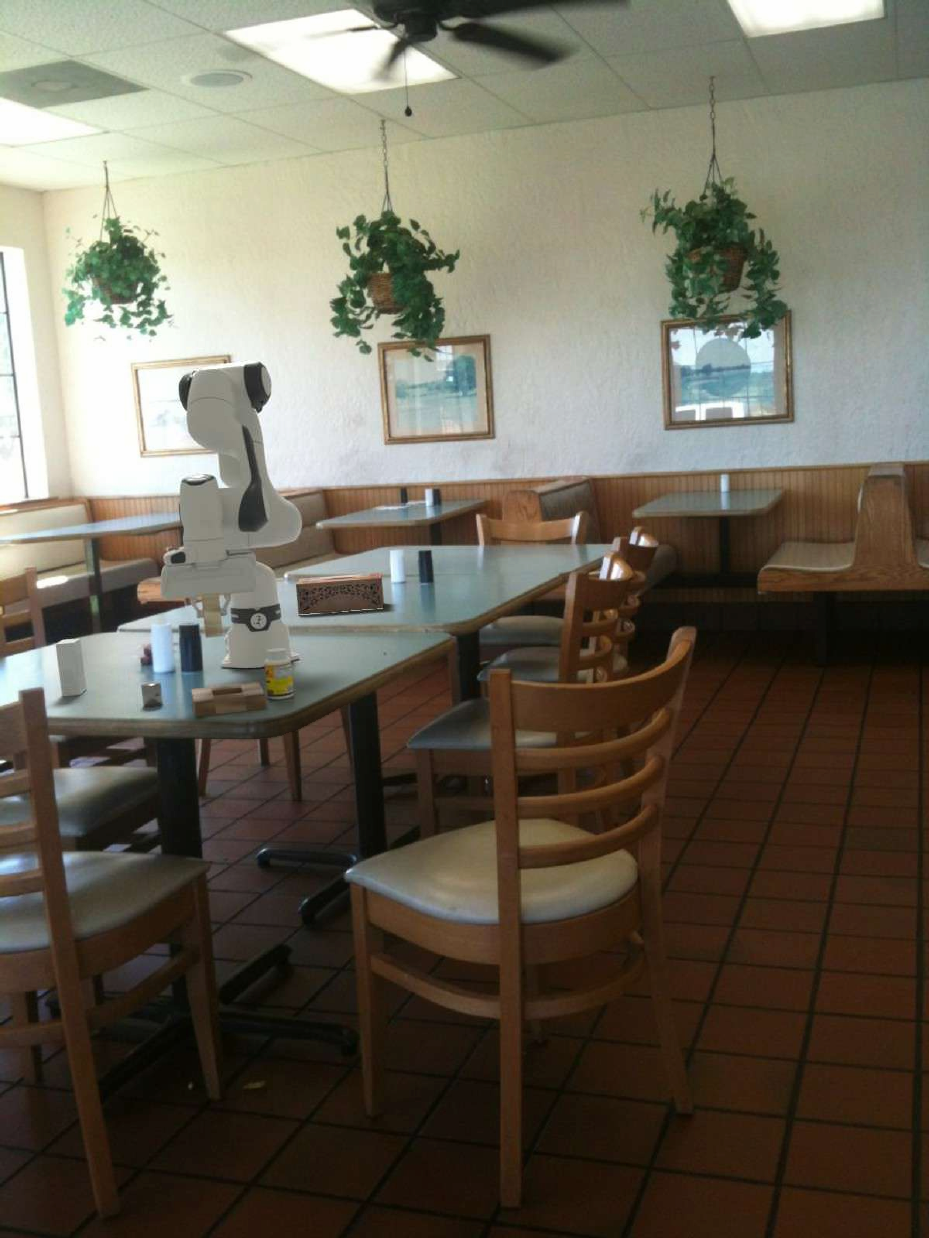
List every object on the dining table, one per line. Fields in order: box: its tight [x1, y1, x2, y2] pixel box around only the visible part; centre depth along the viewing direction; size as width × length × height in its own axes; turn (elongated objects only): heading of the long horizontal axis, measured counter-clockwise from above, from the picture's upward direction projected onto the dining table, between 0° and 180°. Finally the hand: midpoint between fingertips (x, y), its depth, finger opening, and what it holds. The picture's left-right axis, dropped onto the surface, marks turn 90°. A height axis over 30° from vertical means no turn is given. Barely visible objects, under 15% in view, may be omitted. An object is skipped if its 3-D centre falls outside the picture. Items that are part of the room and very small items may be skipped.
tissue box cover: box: [295, 572, 385, 615], centre depth 389 cm, size 26×14×10 cm, turn 93°
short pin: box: [140, 681, 164, 708], centre depth 264 cm, size 4×4×4 cm
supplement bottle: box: [264, 648, 295, 701], centre depth 263 cm, size 6×6×10 cm
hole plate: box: [190, 681, 267, 718], centre depth 258 cm, size 14×14×3 cm
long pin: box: [201, 593, 224, 639], centre depth 268 cm, size 4×4×11 cm
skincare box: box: [55, 638, 87, 697], centre depth 282 cm, size 6×4×12 cm
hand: (212, 616), depth 268 cm, fingers closed on long pin, 3 cm apart
